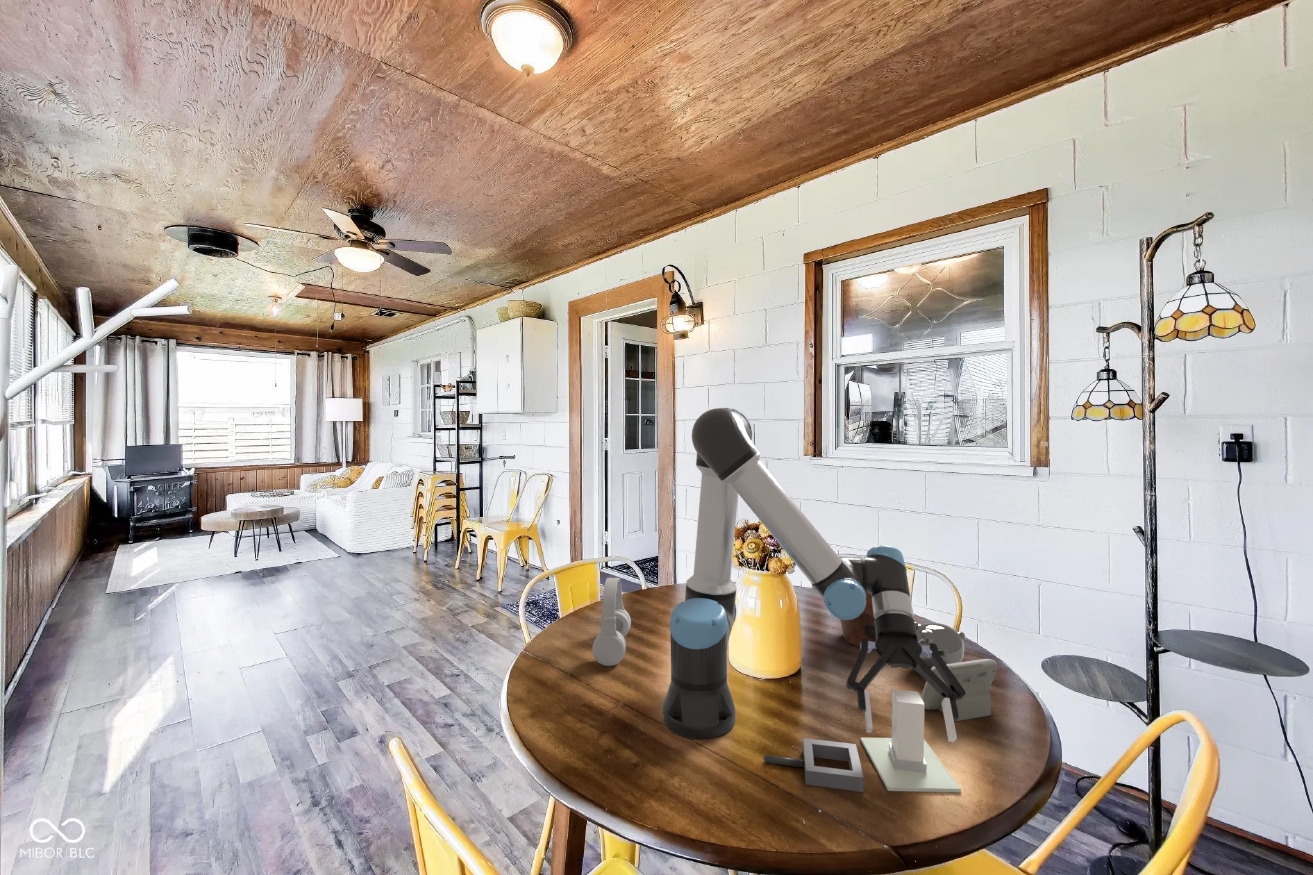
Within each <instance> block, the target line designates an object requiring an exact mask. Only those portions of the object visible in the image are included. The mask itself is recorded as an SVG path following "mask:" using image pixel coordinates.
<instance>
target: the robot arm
mask: <svg viewBox="0 0 1313 875" xmlns="http://www.w3.org/2000/svg"><path fill="white" fill-rule="evenodd" d="M752 440H753V430H752V426H751V424H750V421H749V420H748V418H747V417H746V416H745V415H744V414H743V413H742V412H740V411H739V410H737V409H734V408H730V407H718V408H712V409H709V410H706V411H705V412H703V413H702V414H701V415H699V417H698V418H696V420H695V422H694V424H693V427H692V429H691V442H692V445H693V449H694V450H695V452H696V460H695V461H696V462H695V467H696V468H697V469H698V471H700V474H701V480H700V482H701V483H700V490H699V491H700V492H699V504H698V506H699V507H698V508H699V509H698V516H697V517H698V518H697V526H696V527H697V528H696V540H695V552H694V564H693V565H694V566H693V567H694V568H693V573H692V574H693V575H692V576H690V577H689V578H688V579H687V580H686V582H685V591H684V592H685V595H684V601H681V602H679V603H677V604H676V605H675V606H674V607H673V609H672V611H671V614H670V621H669V632H670V634H669V635H670V683H669V685H668V689H667V692H666V696H665V699H664V701H663V706H662V720H663V723H664V724H665V726H666V727H667V728H668V729H669V730H670V731H672V732H673V733H675V734H677V735H679V736H682V737H685V738H689V739H698V740H699V739H702V740H703V739H712V738H716V737H720V736H723V735H725V734H727V733H728V732H729V731H731V730H732V729H733V728H734V726H735V724H736V706H735V703H734V700H733V696H732V694H731V690H730V688H729V685H728V659H727V658H728V656H727V655H728V644H729V640H730V637H731V633H732V630H733V626H734V624H735V622H736V620H737V619H736V618H737V607H736V606H737V604H736V597H737V585H736V584H735V582H734V581H733V580H732V567H733V554H734V545H735V544H734V543H735V536H736V535H735V533H736V522H737V512H738V501H739V500H738V498H739V496H740V498H741V499H742V500H743V502H745V504H746V505H747V506H748V507H749V509H750V510H751V511H752V512H753V514H754V515H755V517H757V519H759V521H760V522H761V523H762V524H763V526H764V527H765V528H766V530H767V531H768V532H769V533H770V534H771V536H772V537H773V538H774V540H775V541H776V542H777V543H778V544H779V545H780V547H781V548H782V549H783V551H785V553H786V555H788V556H789V558H790V559H791V560H792V561H793V563H794V564H795V566H797V567H798V569H799V570H800V572H801V573H802V574H803V575H804V576H805V577H806V579H807V580H808V581H809V582H810V584H811V587H812V589H813V590H814V591H815V592H816V591H817V592H818V594H819V596H820V597H821V598H823V603H824V605H825V607H826V608H827V610H828V611H829V613H830V614H831V615H833V616H834V617H835V618H837V619H839V620H840V619H843V620H851V619H854V618H856V617H858V616H859V615H861V614H862V612H863V611H864V609H865V607H866V593H871V597H872V604H873V614H874V618H875V621H874V623H875V631H876V642H871V641H868V640H867V639H866V638H862V640H861V644H860V646H859V653H858V655H857V657H856V660H855V662H854V664H853V666H852V669H851V671H850V672H849V675H848V677H847V680H846V683H845V687H846V689H848V690H852V691H854V692H855V693H856V698H857V709H858V710H859V712H864V721H865V729H866V731H865V733H866V734H867V733H868V734H871V733H872V731H873V729H874V726H873V717H872V709H871V698H870V690H868V689H867V688H868V686H870V684H871V683H872V682H873V680H874V679H875V678H876V677H877V676H878V675H879V673H880V672H881V671H882V670H883V669H884V668H885V666H886V665H888V666H889V667H891V668H895V669H896V668H901V669H906V670H908V669H910V668H912V669H913V670H914V671H915V672H916V673H918V674H919V675H920V676H921V677H922V678H923V679H924V680H925V681H927V682H928V683H929V684H930V685H931V686H932V687H933V688H934V689H935V690H936V691H937V692H938V693H939V694H940V695H941V696H942V697H943V698H944V700H943V701H942V708H943V712H942V713H943V717H944V718H943V719H944V724H945V729H946V735H947V740H948V742H949V743H954V742H955V741H956V740H957V739H958V737H957V731H956V730H957V729H956V727H955V726H956V725H955V722H958V721H957V719H958V717H959V715H958V710H957V705H956V700H961V699H962V698H963V697H964V695H965V694H966V692H965V690H964V689H963V687H962V686H961V685H960V683H959V682H958V680H957V679H956V677H955V676H954V675H953V673H952V672H951V670H950V669H949V668H948V666H947V665H946V663H945V662H944V660H943V659H942V658H941V656H940V654H939V651H938V648H937V645H936V644H934V643H932V644H931V645H930V646H921V645H920V644H919V642H918V638H917V632H916V626H915V619H914V617H915V615H914V609H913V604H912V598H911V593H910V586H909V579H908V572H907V566H906V563H905V559H904V555H903V553H902V552H901V550H899V549H898V548H897V547H894V546H892V545H886V544H885V545H879V546H873V547H871V548H870V549H869V550H868V551H867V552H866V556H842V555H840V556H839V555H838V554H837V553H836V552H835V550H833V547H831V546H830V544H829V543H828V541H826V539H825V538H824V537H823V536H822V535H821V533H820V532H819V531H818V529H817V528H815V526H814V525H813V523H811V521H810V520H809V519H808V518H807V516H806V515H805V514H804V513H803V511H802V510H801V509H800V508H799V507H798V505H797V504H796V503H795V502H794V501H793V499H792V497H790V496H789V494H788V493H787V492H786V491H785V489H784V488H783V486H781V485H780V483H779V482H778V481H777V480H776V478H775V477H774V476H773V475H772V473H770V471H769V469H767V468H766V466H765V465H764V464H763V463H762V461H761V460H760V459H761V458H760V457H761V456H760V455H761V453H760V451H759V450H758V448H756V446H755V445H754V443H753V442H752ZM872 650H875V652H876V653H877V654H878V655H879V658H878V659H877V661H876V662H875V663H874V664H873V665H872V666H871V667H870V669H869V670H868V671H867V673H866V674H865V675H864V676H863V678H861V680H860V681H859V682H857V681H856V680H857V678H858V675H859V673H860V671H861V669H862V667H863V664H864V662H865V660H866V657H867V654H871V653H872ZM921 653H924V654H925V655H926V656H927V658H930V660H931V662H932V664H933V665H934V667H935V668H936V669H937V671H938V672H939V674H940V675H941V677H942V678H943V680H944V681H945V683H946V684H947V685H946V684H945V683H944V682H943V681H942V680H941V679H940V678H939V677H938V676H937V675H936V674H935V673H934V672H933V671H932V670H931V669H930V668H929V667H928V666H927V665H926V664H925V662H924V661H923V660H922V659H921V658H920V657H919V656H920V654H921ZM866 689H867V690H866Z"/></svg>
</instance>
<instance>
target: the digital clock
mask: <svg viewBox="0 0 1313 875" xmlns="http://www.w3.org/2000/svg"><path fill="white" fill-rule="evenodd" d="M946 665H947V666H948V668H949V669H950V670H951V672H952V673H953V675H954V676H955V677H956V679H957V680H958V682H959V683H960V685H961V686H962V687H963V689H964V690H965V692H966V694H965V695H964V697H963V698H962V699H961V700H956V705H957V710H958V715H959V717H958V719H957V721H956V722H960V721H966V720H971V719H978V718H984V717H989V716H992V695H991V693H990V689H991V687H992V683H993V681H994V679H995V676H996V674H997V671H998V663H997V661H996V660H994V659H990V658H982V659H975V660H974V659H973V660H968V661H961V662H959V663H952V664H946ZM931 670H932V671H933V672H934V673H935V674H936V675H937V676H938V677H939V678H940V679H941V680H942V681H943V682H944V683H945V681H944V680H943V678H942V677H941V675H940V674H939V672H938V671H937V669H936V668H935V667H932V668H931ZM925 681H926V680H925ZM945 684H946V683H945ZM946 685H947V684H946ZM920 696H921V698H922V700H923V702H924V710H926V711H927V710H928V711H932V710H938V711H940V712H941V713H943V708H942V701H943V700H944V698H943V697H942V696H941V695H940V694H939V693H938V692H937V691H936V690H935V689H934V688H933V687H932V686H931V685H930V684H929V683H928V682H927V681H926V682H925V684H924V687H923V690H922V693H921V694H920Z"/></svg>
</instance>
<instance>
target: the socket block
mask: <svg viewBox="0 0 1313 875" xmlns="http://www.w3.org/2000/svg"><path fill="white" fill-rule="evenodd" d="M802 753H803V759H801V758H800V759H799V758H792V757H783V756H776V755H768V754H766V755H764V757H763V761H764V762H765V763H766V764H774V765H780V766H781V765H783V766H790V767H797V768H804V778H805V779H804V781H805V785H806V786H808V785H809V786H813V787H814V786H815V787H823V788H830V789H838V790H845V791H850V792H852V791H853V792H859V793H860V792H861V793H865V792H864V791H865V778H864V772H863V768H862V765H861V760H860V756H859V752H858V747H857V744H856V743H850V742H849V743H848V742H839V741H833V740H832V741H831V740H822V739H815V738H805V737H803V738H802ZM815 758H817V759H825V760H827V759H828V760H833V761H843V762H848V767H849V769H841V768H832V767H826V766H818V765H815V761H814V759H815Z"/></svg>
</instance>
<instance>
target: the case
mask: <svg viewBox="0 0 1313 875" xmlns="http://www.w3.org/2000/svg"><path fill="white" fill-rule="evenodd" d="M839 620H840V625H841V630H842V631H841V632H842V635H843V636H842V637H843V638H844V640H845V641H846V642H848V644H851V645H854V646H858V647H860V644H861V640H862V638H866V639H867V640H868V641H871V642H876V631H875V623H874V621H875V618H874V614H873V604H872V597H871V593H866V607H865V609H864V611H863V612H862V614H861V615H859V616H858V617H856V618H854V619H851V620H843V619H839Z"/></svg>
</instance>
